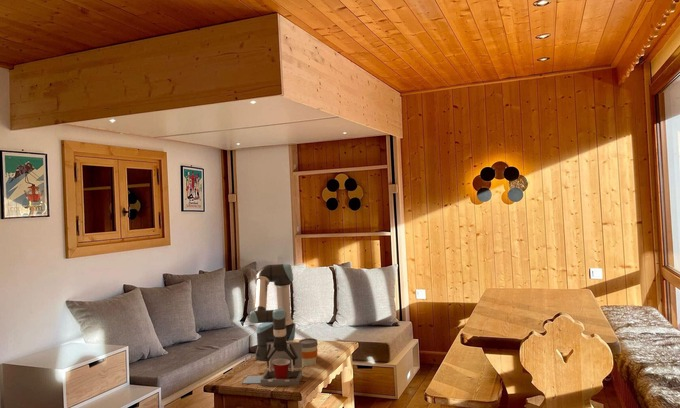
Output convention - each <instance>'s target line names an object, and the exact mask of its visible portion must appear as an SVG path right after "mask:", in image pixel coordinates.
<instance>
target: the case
mask: <svg viewBox="0 0 680 408" xmlns="http://www.w3.org/2000/svg"><path fill="white" fill-rule="evenodd" d="M262 376H263V377H262V378H261V384H260V387H261V386H262V387H263V386H267V387H269V386H270V387H271V386H273V387H274V386H277V387H278V386H279V387H280V386H287V387H288V386H299V383H300V382H301V379H302V378H303V369H302V370H294V371H292V370H288V374H287V379H276V376H275V371H274V370H271V372H269V370H266V371H265V372H264V374H263V375H262ZM274 377H275V378H274ZM288 377H289V378H288ZM290 377H291V378H290ZM293 377H295V378H293Z"/></svg>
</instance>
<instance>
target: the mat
mask: <svg viewBox="0 0 680 408" xmlns="http://www.w3.org/2000/svg"><path fill="white" fill-rule="evenodd" d="M263 376H264V375H247V376H246V377H245V379H244V380H243V381H242V383H241V384H242V385H261V378H262V377H263Z"/></svg>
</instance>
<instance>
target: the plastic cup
mask: <svg viewBox="0 0 680 408" xmlns="http://www.w3.org/2000/svg"><path fill="white" fill-rule="evenodd" d="M272 363H273V366H274V368H273V369H274V370H273V371H275V376H276V377H275V379H288V377H287V374H288V369H289V368H288V366H289V363H290V360H288V359H275V360H273V361H272Z"/></svg>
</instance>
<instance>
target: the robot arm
mask: <svg viewBox="0 0 680 408" xmlns="http://www.w3.org/2000/svg"><path fill="white" fill-rule="evenodd" d="M293 281H294V274H293V268H292V265H291V264H290V263H280V264H279V263H278V264H266V265H264V266H262V267H261V268H260V269H259V270H258V271H257V272H256V275H255V278H254V284H255V295H254V307H253V310H251V311H250V312H249V321H250V324H257V326H256V344H257V345H256V346H257V347H256V350H255V351H256V352H255V355H254V358H255V360H258V361H266V366H267V365H268V366H269V368H268V369H269V370H268V371H269V372H271V371H273V370H272V369H273V368H271V360H270V358H271V357H272V356H273V354H274V353H275V352H276V350H277V351H278V352H279V351H285V352H286V353H287V354H288V355H289V356H290V358H291V359H292V360H291V366H292V368H291V369H292V371H294V369H295V368H294V365H295V359H297V358H298V356H297V354H296V352H295V350H294V348H293V347H292V343H290V344H287V342H293V341H294V339H295V338H296V336H295V335H296V323H295V322H294V320H293V319H292V313H291V310H292V309H291V295H290V286H291V285H292V282H293ZM270 283H273V284H274V286H275V287H276V299H277V309H267V304H268V303H267V302H268V286H269V284H270ZM267 343H270V344H269V348H268V350H267ZM271 343H274V344H271ZM273 346H274V348H275V350H274V351H273V352H272V353H271V355H270V356H269V357H267V356H268V354H269V352H270V349H271V348H272V347H273ZM287 346H288V347H290V350H291V351H292V353H293V355H294V356H293V355H292V354H291V353H290V351H289V350H288V349H287V348H286V347H287Z"/></svg>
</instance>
